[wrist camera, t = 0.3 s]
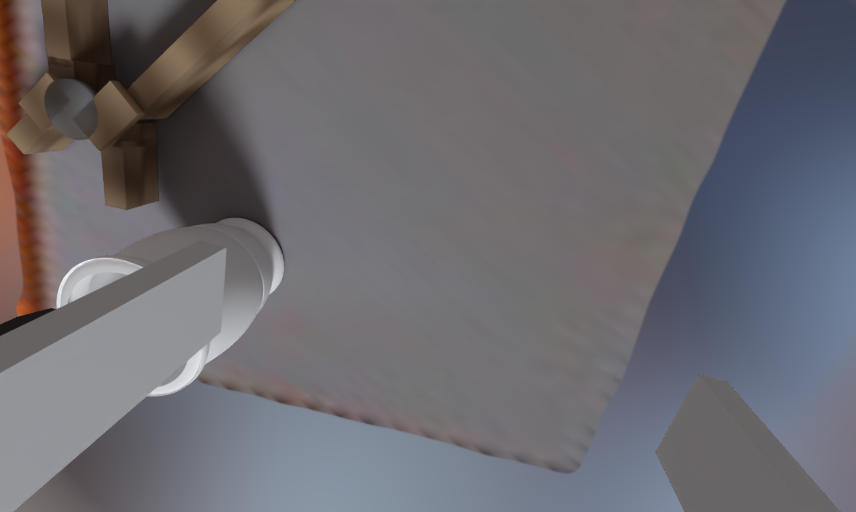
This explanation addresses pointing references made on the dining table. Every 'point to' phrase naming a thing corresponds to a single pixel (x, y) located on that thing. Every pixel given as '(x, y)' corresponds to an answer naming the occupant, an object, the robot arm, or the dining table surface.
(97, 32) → the tongs base
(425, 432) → the dining table surface
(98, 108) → the tong arm
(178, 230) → the jar
